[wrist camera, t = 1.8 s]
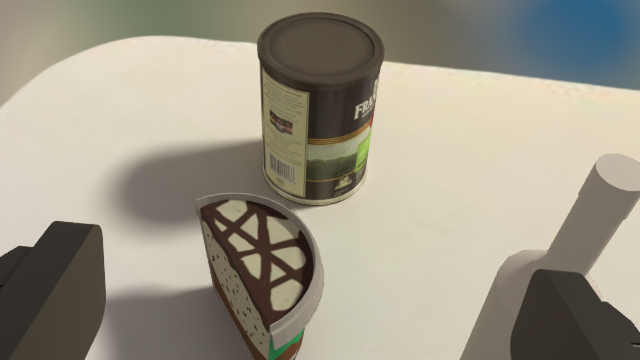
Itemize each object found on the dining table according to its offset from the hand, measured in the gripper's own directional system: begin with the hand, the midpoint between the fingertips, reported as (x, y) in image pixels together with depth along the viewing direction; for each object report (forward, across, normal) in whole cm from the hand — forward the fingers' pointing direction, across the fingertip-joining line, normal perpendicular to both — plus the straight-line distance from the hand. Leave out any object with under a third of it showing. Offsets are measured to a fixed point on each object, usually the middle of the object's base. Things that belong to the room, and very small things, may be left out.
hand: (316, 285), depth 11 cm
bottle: (+20, -14, +25) cm, 35 cm away
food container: (+27, 0, +24) cm, 36 cm away
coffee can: (+43, -2, +18) cm, 47 cm away
